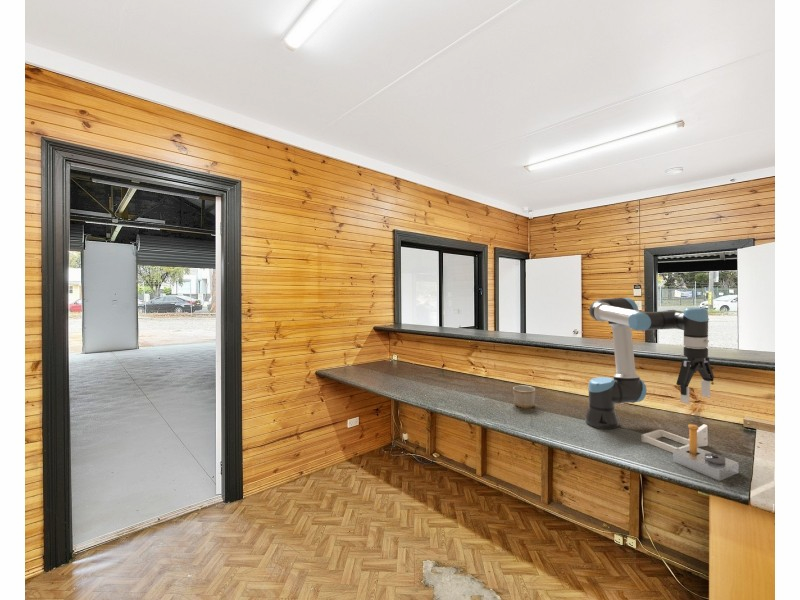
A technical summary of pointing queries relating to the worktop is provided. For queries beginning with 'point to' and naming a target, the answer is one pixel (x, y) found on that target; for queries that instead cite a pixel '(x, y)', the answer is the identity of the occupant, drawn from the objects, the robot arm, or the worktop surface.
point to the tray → (659, 433)
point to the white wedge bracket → (702, 435)
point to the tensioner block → (706, 463)
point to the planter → (524, 396)
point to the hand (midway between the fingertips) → (695, 399)
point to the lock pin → (693, 439)
